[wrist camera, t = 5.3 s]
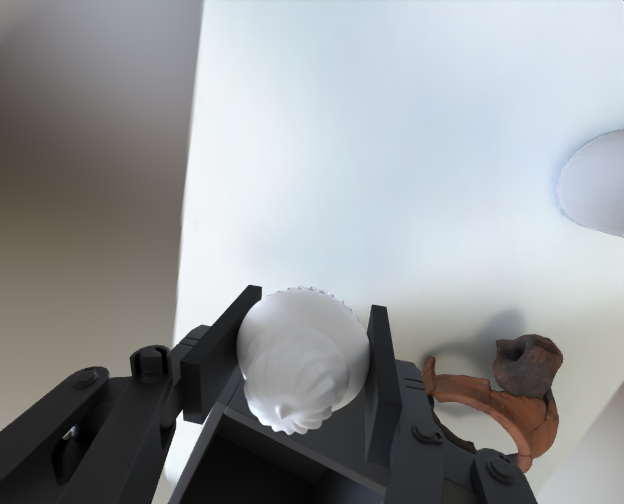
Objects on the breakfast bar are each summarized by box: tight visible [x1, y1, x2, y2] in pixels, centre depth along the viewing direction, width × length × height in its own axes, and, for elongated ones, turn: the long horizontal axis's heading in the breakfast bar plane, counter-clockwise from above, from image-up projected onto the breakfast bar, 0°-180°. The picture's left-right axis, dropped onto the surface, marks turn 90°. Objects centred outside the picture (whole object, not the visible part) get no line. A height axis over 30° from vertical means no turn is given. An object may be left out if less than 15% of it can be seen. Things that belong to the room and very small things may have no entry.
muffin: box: [236, 287, 371, 435], centre depth 13 cm, size 6×6×7 cm
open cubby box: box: [168, 365, 391, 504], centre depth 25 cm, size 16×14×9 cm
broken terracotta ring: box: [422, 334, 563, 473], centre depth 23 cm, size 12×10×8 cm
